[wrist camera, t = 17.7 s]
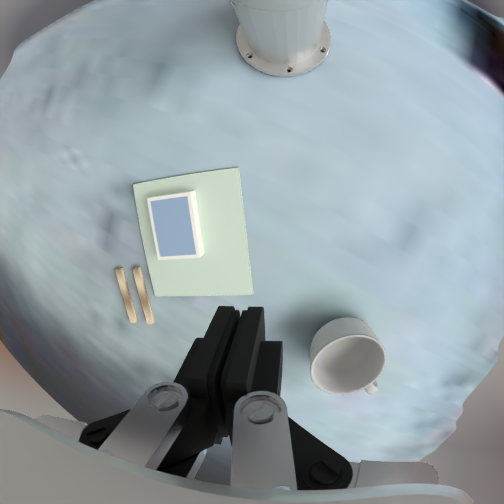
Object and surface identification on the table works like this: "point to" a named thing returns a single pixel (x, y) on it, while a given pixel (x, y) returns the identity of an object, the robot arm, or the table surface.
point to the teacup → (346, 357)
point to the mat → (213, 237)
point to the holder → (141, 292)
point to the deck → (176, 225)
